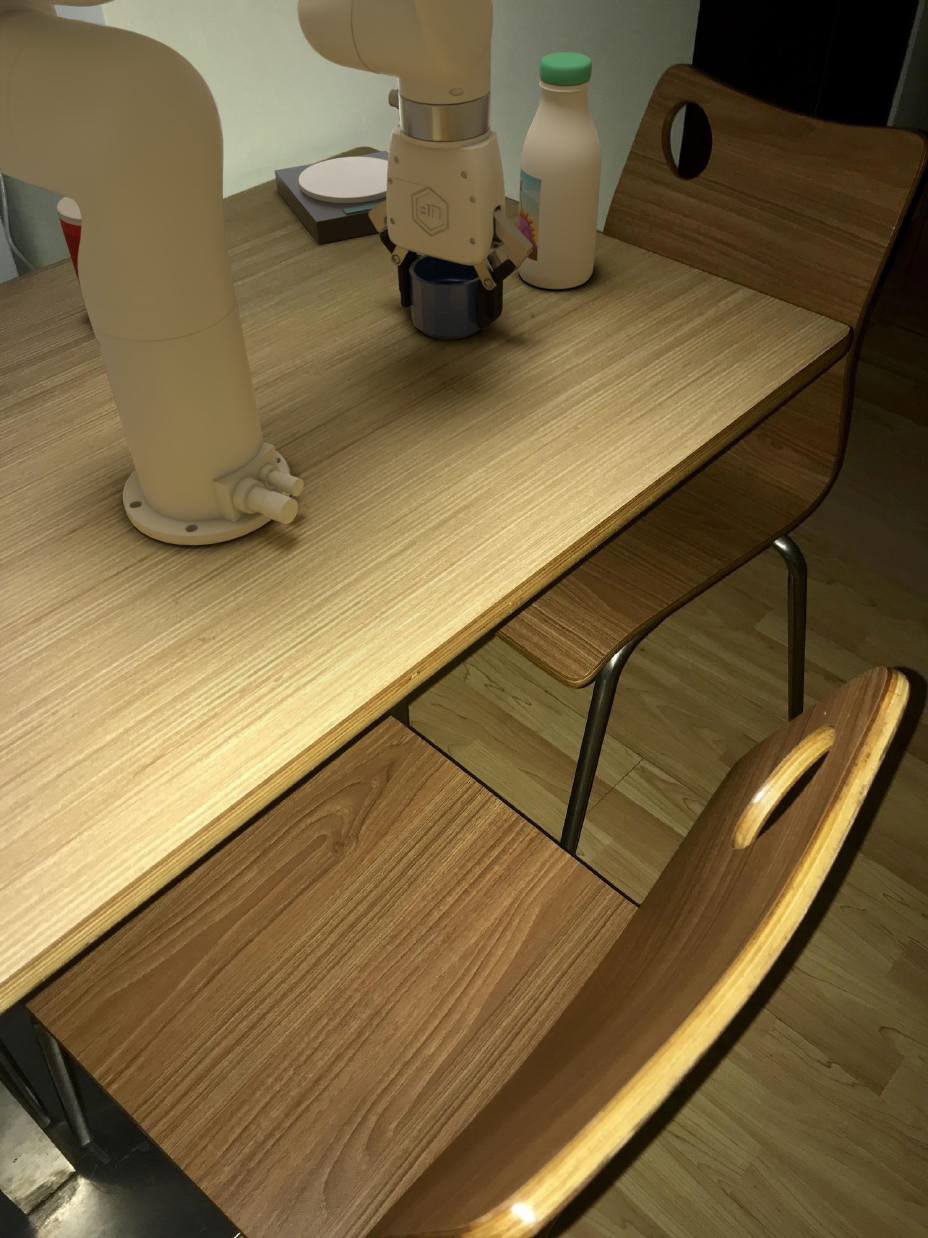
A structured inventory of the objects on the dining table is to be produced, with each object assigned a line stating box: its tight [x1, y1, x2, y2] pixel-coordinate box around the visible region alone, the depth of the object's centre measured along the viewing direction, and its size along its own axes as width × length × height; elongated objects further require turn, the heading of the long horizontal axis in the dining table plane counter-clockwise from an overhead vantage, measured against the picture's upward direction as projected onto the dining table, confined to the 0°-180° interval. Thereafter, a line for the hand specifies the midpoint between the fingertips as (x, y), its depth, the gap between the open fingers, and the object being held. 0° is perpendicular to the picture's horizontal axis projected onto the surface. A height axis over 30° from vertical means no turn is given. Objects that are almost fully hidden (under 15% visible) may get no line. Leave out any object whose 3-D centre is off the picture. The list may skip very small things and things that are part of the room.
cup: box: [409, 254, 483, 340], centre depth 93 cm, size 7×7×6 cm
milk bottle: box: [517, 51, 602, 290], centre depth 95 cm, size 8×8×20 cm
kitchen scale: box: [274, 150, 389, 245], centre depth 114 cm, size 16×14×3 cm
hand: (450, 310), depth 94 cm, fingers open, 7 cm apart
